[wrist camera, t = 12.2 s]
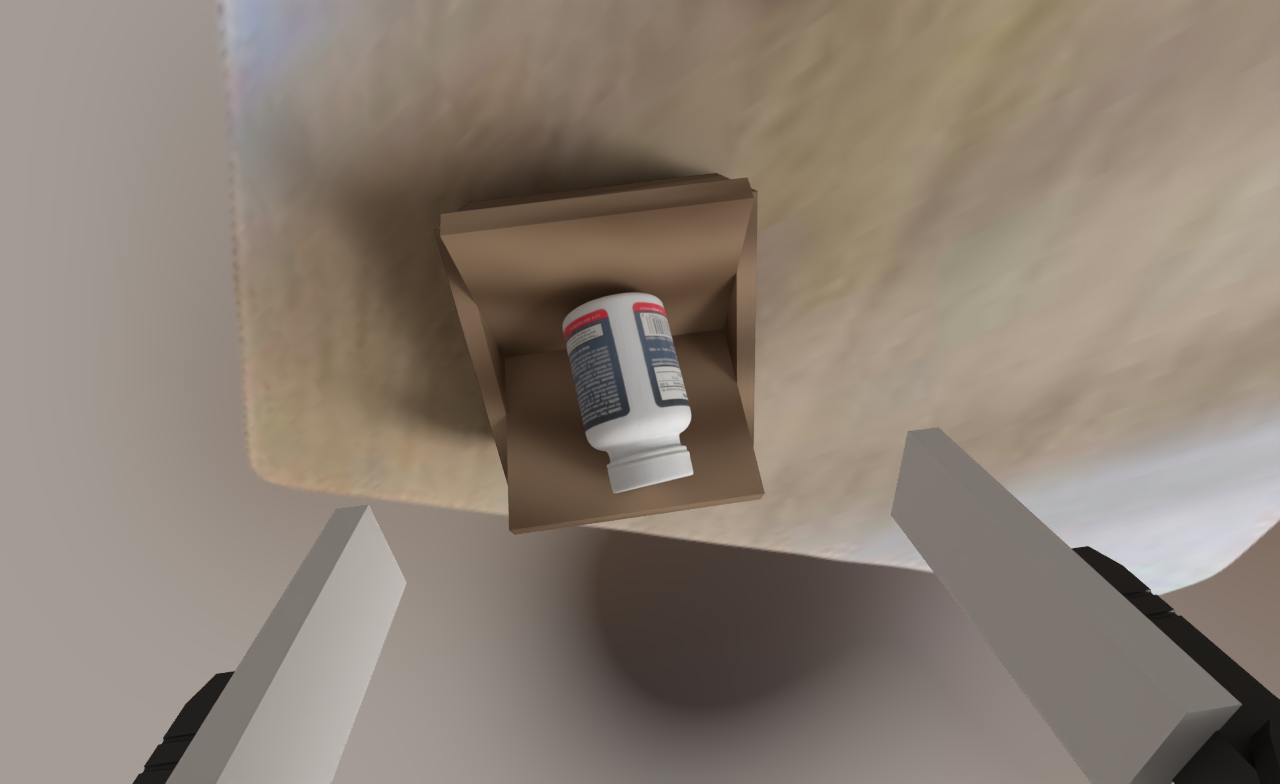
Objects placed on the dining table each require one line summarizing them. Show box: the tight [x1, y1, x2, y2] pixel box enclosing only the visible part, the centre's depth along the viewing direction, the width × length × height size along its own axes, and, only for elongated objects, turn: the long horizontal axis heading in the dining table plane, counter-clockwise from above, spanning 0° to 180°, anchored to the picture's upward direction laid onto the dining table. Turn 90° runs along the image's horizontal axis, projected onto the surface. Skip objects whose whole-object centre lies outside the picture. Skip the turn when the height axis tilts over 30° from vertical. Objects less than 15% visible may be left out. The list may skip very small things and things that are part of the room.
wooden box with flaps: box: [434, 173, 765, 535], centre depth 27 cm, size 17×15×11 cm
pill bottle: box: [562, 292, 693, 493], centre depth 25 cm, size 5×5×9 cm
